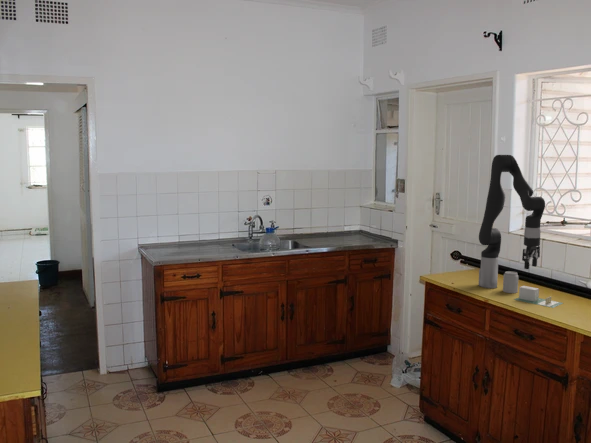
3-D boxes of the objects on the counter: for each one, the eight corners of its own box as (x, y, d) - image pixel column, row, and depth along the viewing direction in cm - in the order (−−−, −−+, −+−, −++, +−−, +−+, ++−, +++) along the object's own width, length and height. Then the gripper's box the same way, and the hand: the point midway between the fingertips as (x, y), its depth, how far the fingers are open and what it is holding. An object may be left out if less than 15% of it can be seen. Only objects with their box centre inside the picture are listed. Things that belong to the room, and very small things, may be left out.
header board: (513, 302, 284) (513, 293, 283) (524, 297, 292) (524, 289, 291) (552, 310, 269) (553, 301, 268) (563, 305, 277) (564, 297, 276)
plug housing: (518, 298, 285) (519, 287, 284) (522, 296, 288) (523, 285, 287) (534, 301, 279) (535, 290, 278) (538, 300, 282) (539, 288, 281)
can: (510, 296, 294) (511, 274, 293) (499, 293, 301) (500, 271, 299) (520, 294, 298) (521, 272, 296) (509, 291, 304) (510, 270, 303)
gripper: (531, 233, 287) (529, 264, 289) (518, 237, 277) (516, 268, 279) (545, 235, 281) (544, 266, 283) (533, 238, 272) (531, 271, 274)
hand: (530, 267), depth 281 cm, fingers open, 8 cm apart
